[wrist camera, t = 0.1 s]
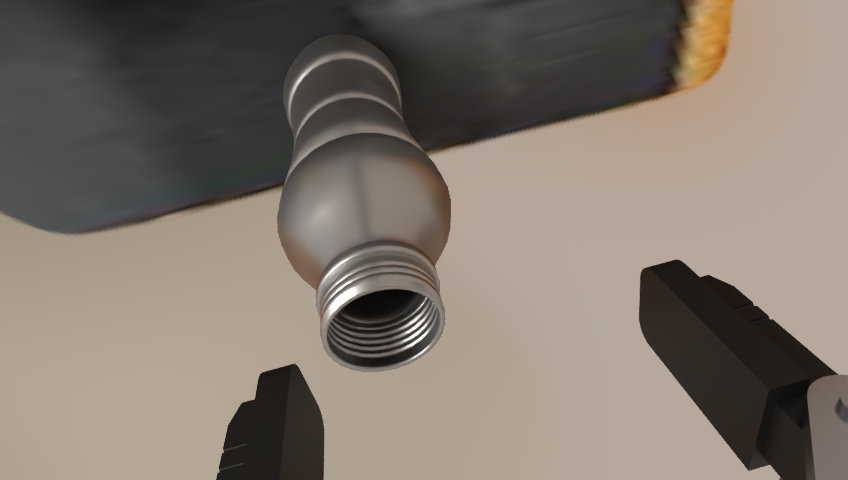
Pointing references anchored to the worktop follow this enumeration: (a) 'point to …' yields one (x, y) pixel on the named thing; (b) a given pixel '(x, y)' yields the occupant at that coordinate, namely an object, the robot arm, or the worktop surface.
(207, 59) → the worktop surface
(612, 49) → the worktop surface
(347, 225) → the silver bottle
